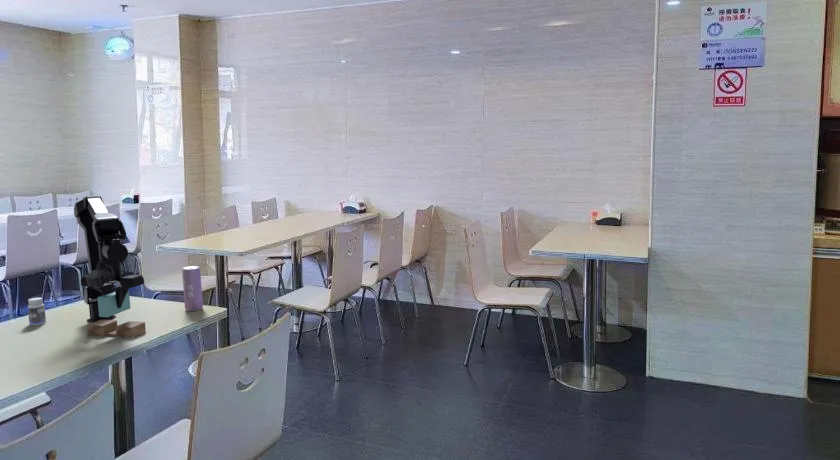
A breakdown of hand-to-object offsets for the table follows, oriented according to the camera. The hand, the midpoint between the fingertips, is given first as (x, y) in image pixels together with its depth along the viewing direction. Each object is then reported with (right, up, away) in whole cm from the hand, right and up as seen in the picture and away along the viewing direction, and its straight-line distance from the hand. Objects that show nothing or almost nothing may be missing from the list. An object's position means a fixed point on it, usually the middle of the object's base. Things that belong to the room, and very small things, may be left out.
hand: (114, 307), depth 195 cm
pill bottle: (-32, -7, +15) cm, 36 cm away
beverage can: (+14, -4, +28) cm, 32 cm away
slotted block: (0, -8, +1) cm, 8 cm away
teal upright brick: (0, -2, 0) cm, 2 cm away
